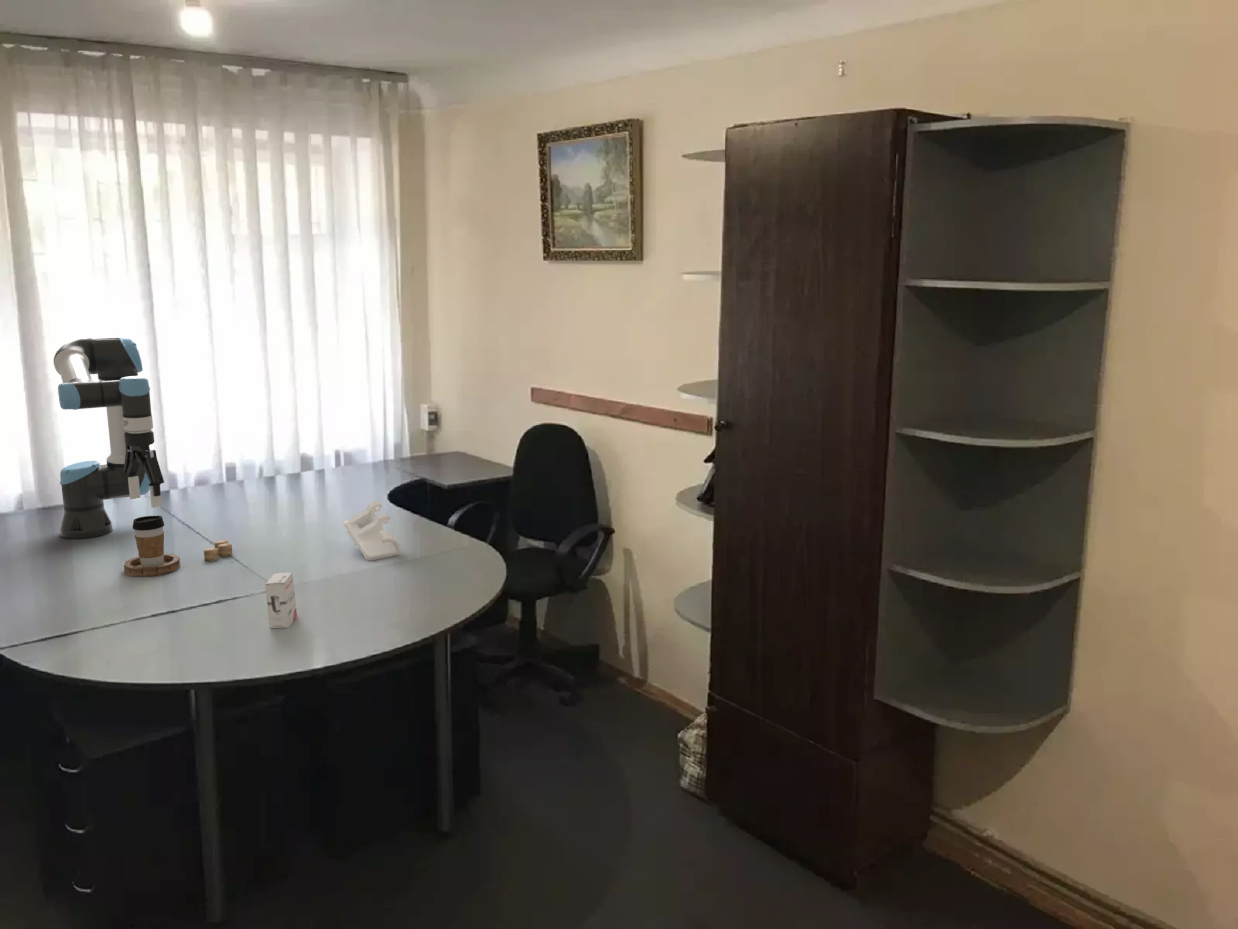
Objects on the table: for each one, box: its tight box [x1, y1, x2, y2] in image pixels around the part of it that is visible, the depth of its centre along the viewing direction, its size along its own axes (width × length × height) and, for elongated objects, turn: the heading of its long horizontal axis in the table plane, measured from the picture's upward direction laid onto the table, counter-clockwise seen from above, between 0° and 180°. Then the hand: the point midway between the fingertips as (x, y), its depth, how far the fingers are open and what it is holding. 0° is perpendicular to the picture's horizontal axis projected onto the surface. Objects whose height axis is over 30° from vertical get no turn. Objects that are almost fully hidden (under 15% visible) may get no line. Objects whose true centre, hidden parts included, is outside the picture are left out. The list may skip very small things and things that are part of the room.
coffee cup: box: [132, 515, 165, 567], centre depth 282 cm, size 8×8×15 cm
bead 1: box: [203, 547, 220, 562], centre depth 293 cm, size 4×4×3 cm
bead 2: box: [214, 539, 229, 548], centre depth 300 cm, size 4×4×3 cm
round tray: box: [123, 552, 182, 578], centre depth 283 cm, size 15×15×2 cm
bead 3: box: [218, 543, 233, 557], centre depth 297 cm, size 4×4×3 cm
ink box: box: [264, 572, 298, 629], centre depth 242 cm, size 9×5×12 cm, turn 5°
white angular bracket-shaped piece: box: [343, 500, 401, 561], centre depth 300 cm, size 20×11×13 cm, turn 40°
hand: (145, 502), depth 279 cm, fingers open, 13 cm apart
